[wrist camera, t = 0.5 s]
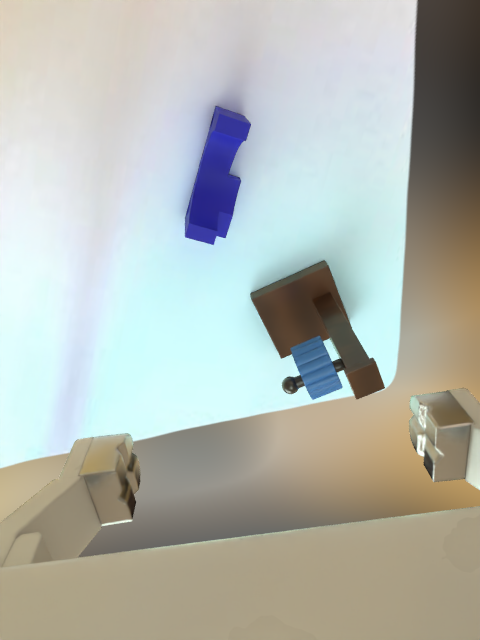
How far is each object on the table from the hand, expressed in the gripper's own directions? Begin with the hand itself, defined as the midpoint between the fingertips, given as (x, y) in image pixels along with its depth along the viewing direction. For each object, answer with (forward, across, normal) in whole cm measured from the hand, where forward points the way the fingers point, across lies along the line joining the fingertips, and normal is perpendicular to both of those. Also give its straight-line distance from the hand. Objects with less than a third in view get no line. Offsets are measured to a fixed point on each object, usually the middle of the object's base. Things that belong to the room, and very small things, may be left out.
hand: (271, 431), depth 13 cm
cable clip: (+41, +1, -2) cm, 41 cm away
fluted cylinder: (+34, -6, +17) cm, 39 cm away
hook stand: (+43, -7, +16) cm, 46 cm away
